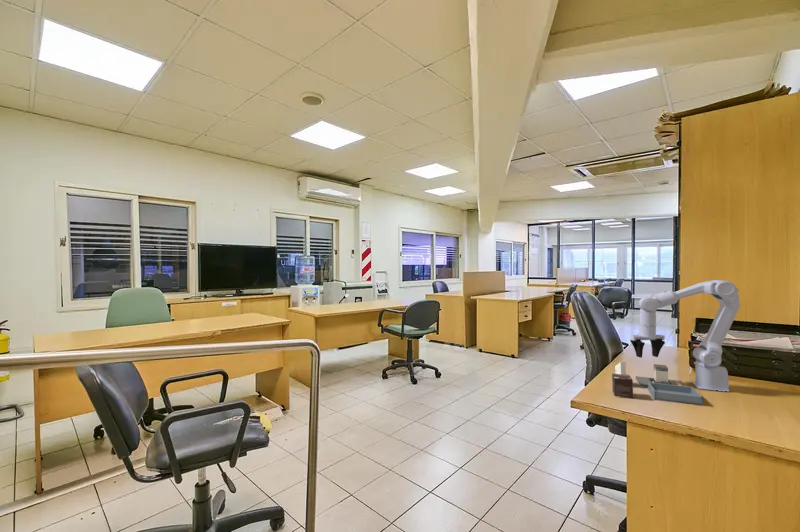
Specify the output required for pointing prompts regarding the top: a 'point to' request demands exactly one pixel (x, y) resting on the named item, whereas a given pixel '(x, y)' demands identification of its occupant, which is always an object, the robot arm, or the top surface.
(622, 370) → the white wedge bracket
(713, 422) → the top surface
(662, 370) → the tan rectangular block
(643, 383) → the frame
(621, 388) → the box
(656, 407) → the top surface
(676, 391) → the tray
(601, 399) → the top surface
